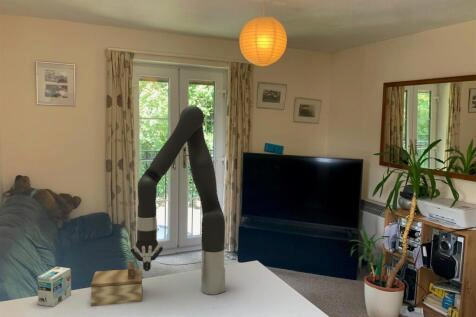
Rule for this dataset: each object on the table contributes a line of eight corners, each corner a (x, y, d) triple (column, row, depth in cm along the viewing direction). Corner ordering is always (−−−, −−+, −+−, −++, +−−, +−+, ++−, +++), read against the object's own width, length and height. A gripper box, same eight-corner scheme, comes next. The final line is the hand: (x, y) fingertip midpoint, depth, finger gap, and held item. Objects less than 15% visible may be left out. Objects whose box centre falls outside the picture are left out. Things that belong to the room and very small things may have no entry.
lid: (142, 270, 152) (142, 258, 151) (141, 283, 140) (141, 270, 139) (95, 274, 147) (95, 261, 147) (90, 286, 136) (90, 273, 135)
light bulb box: (53, 307, 135) (52, 278, 134) (37, 305, 136) (36, 276, 136) (72, 294, 146) (71, 267, 145) (57, 292, 147) (56, 266, 146)
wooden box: (142, 288, 152) (142, 271, 152) (141, 301, 141) (141, 283, 140) (95, 291, 148) (95, 274, 147) (91, 306, 136) (90, 287, 136)
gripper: (163, 224, 150) (163, 265, 151) (129, 225, 147) (129, 267, 148) (164, 229, 142) (164, 273, 144) (128, 230, 139) (128, 275, 141)
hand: (146, 270), depth 146 cm, fingers closed
